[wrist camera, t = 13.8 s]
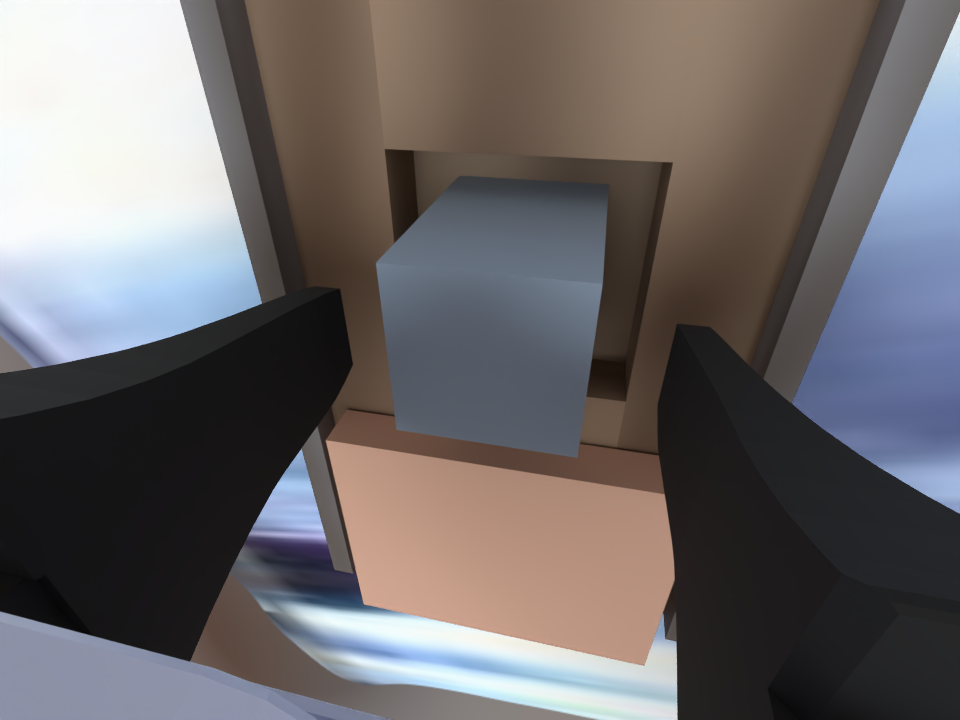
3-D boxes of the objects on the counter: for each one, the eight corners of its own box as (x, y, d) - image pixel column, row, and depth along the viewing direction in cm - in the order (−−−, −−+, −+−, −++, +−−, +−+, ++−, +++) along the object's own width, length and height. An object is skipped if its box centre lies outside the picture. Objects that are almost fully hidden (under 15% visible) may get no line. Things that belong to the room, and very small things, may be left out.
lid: (695, 460, 15) (702, 500, 14) (642, 626, 20) (644, 665, 19) (346, 409, 17) (325, 439, 16) (378, 571, 22) (364, 604, 21)
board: (900, -58, 10) (1008, -82, 7) (682, 560, 21) (691, 644, 19) (262, -41, 13) (160, -55, 10) (366, 503, 24) (332, 569, 21)
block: (608, 184, 13) (602, 283, 9) (590, 318, 16) (577, 457, 11) (459, 175, 14) (375, 263, 9) (462, 305, 16) (396, 429, 12)
